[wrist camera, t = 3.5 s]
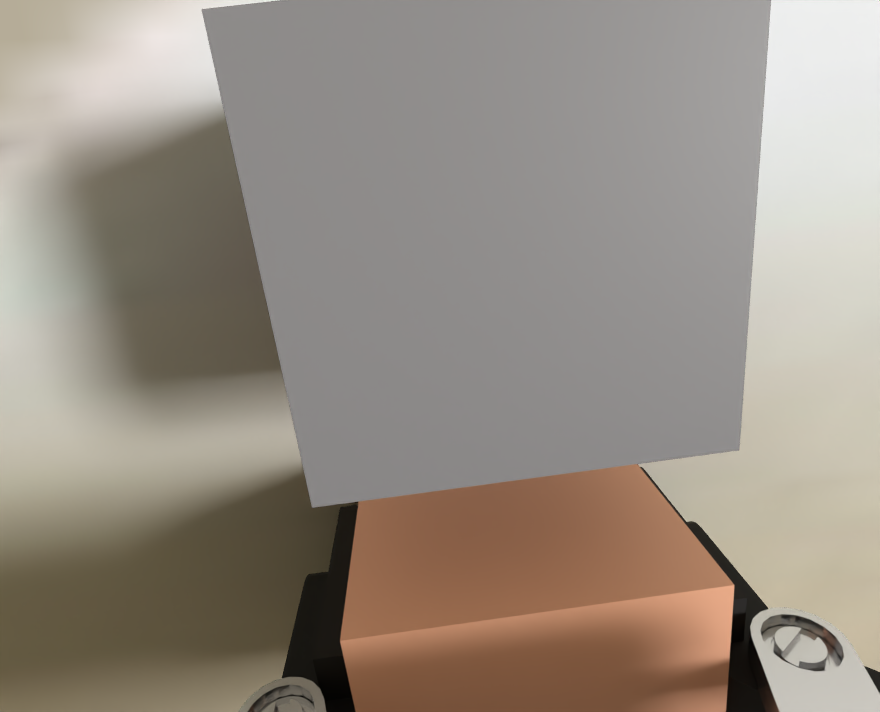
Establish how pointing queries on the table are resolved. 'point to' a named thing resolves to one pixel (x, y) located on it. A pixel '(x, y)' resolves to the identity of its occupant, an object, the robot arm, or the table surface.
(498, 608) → the terracotta block
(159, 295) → the table surface
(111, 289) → the table surface
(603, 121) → the gray block
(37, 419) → the table surface
